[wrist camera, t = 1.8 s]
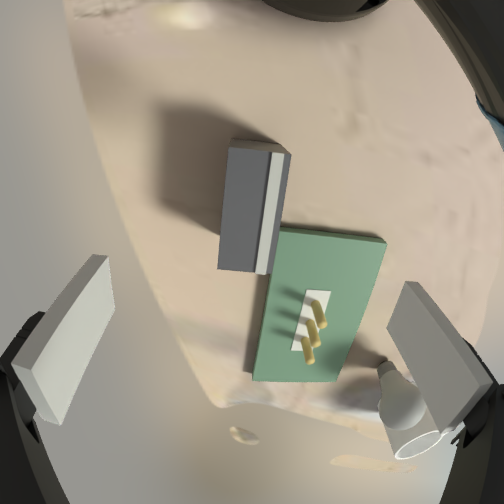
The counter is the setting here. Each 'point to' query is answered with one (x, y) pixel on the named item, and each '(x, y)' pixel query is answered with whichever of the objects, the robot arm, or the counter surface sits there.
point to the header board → (314, 304)
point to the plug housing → (252, 205)
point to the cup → (414, 437)
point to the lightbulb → (399, 399)
